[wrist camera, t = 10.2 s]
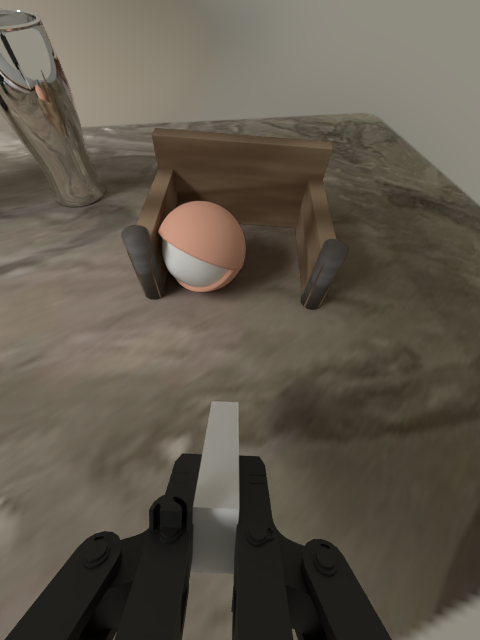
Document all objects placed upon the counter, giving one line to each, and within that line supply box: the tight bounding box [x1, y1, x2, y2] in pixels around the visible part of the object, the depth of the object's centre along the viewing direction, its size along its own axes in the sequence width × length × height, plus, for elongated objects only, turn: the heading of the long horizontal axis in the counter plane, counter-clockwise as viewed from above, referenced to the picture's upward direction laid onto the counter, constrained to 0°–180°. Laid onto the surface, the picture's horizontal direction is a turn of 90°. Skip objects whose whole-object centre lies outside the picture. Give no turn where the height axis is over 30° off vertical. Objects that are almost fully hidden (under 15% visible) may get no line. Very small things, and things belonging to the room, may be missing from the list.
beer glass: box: [0, 9, 105, 207], centre depth 27 cm, size 7×7×15 cm
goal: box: [121, 128, 349, 310], centre depth 25 cm, size 14×18×9 cm
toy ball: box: [158, 201, 246, 292], centre depth 24 cm, size 8×8×8 cm
